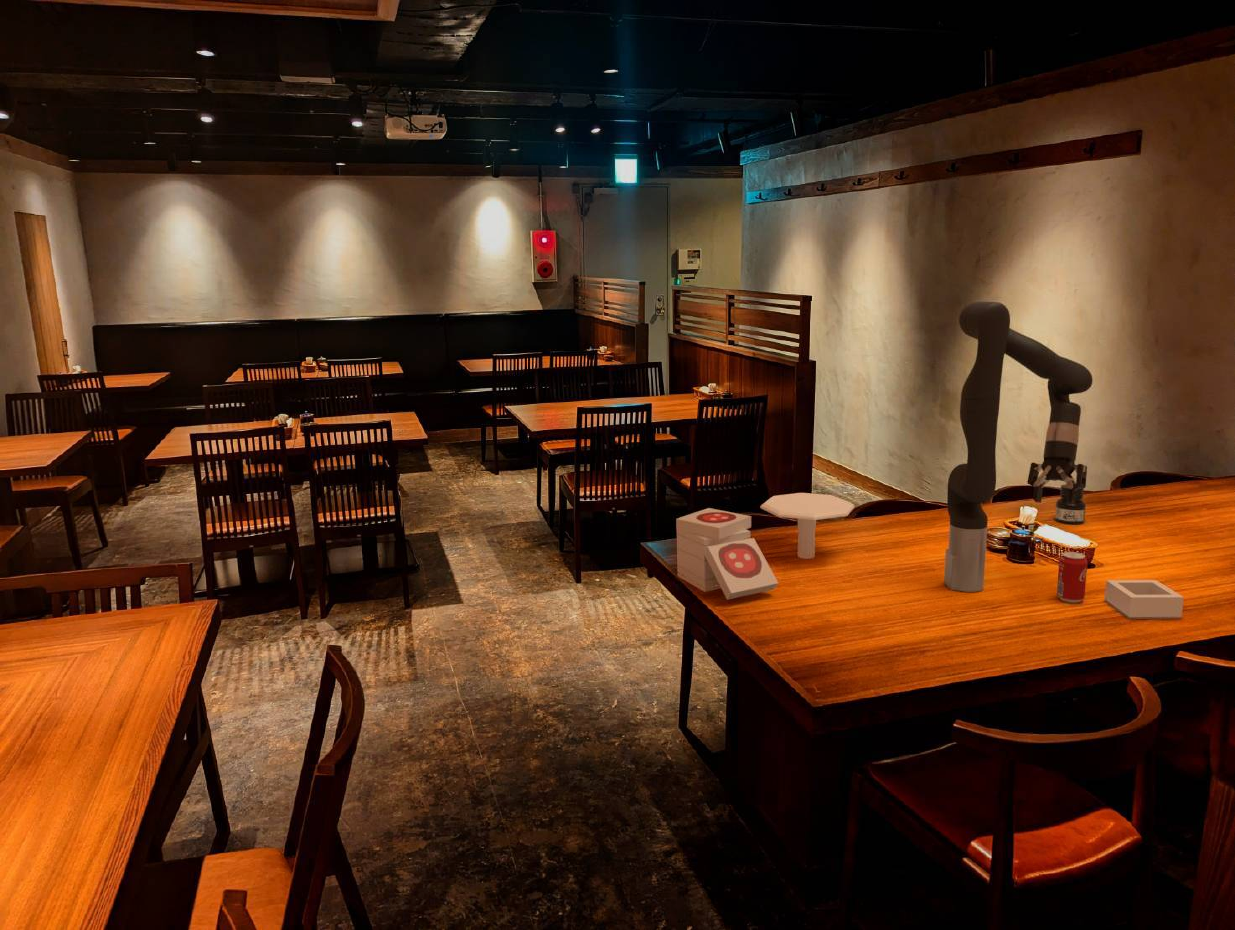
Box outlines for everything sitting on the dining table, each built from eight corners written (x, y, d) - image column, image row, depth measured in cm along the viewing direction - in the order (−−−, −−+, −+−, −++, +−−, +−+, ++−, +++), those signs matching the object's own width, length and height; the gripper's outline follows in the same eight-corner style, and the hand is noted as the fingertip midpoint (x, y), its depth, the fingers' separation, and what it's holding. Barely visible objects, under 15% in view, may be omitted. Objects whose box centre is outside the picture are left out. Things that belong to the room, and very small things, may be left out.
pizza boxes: (725, 608, 217) (724, 541, 214) (668, 575, 244) (667, 514, 240) (785, 595, 225) (786, 530, 222) (724, 564, 252) (723, 505, 248)
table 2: (816, 578, 237) (818, 521, 234) (740, 556, 258) (740, 503, 254) (872, 555, 255) (874, 502, 252) (797, 537, 276) (797, 487, 272)
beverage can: (1087, 604, 213) (1091, 559, 210) (1060, 603, 214) (1064, 558, 212) (1079, 595, 219) (1083, 551, 216) (1053, 594, 220) (1056, 550, 218)
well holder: (1129, 619, 203) (1131, 597, 202) (1104, 600, 215) (1106, 580, 214) (1181, 618, 202) (1183, 597, 201) (1153, 600, 214) (1155, 579, 213)
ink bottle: (1051, 522, 284) (1054, 487, 281) (1055, 516, 291) (1058, 482, 288) (1084, 526, 278) (1087, 491, 276) (1087, 520, 285) (1090, 485, 283)
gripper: (1027, 439, 225) (1019, 499, 223) (1081, 439, 213) (1072, 502, 211) (1043, 444, 229) (1035, 503, 227) (1096, 445, 217) (1088, 507, 215)
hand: (1053, 503), depth 219 cm, fingers open, 8 cm apart
